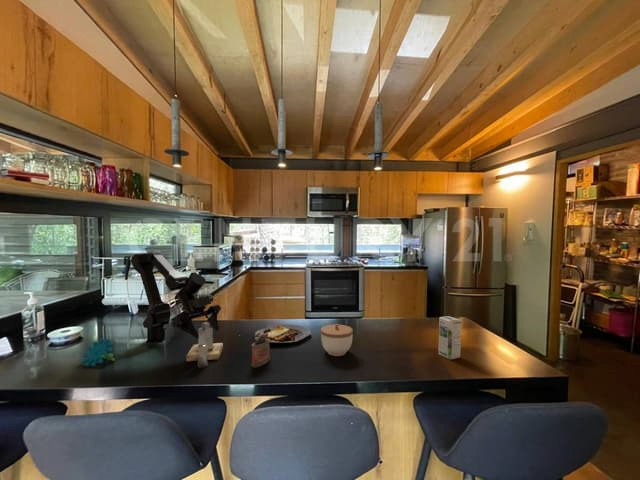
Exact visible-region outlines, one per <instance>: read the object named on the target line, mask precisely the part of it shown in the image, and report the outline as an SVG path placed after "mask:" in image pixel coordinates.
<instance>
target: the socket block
mask: <svg viewBox="0 0 640 480" xmlns="http://www.w3.org/2000/svg"><path fill="white" fill-rule="evenodd" d="M198 345H199V343H196V344H192V347H191V348H190V350H189V351H188V353H187V354H186V356H185V357H186V362H192V361H193V362H194V361H197V362H198ZM223 349H224V343H223V342H216V343H215V342H213V350H212V351H209V352H208V360H207V361H209V360H219V358H220V356H221V354H222V351H223Z"/></svg>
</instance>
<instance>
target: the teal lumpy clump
mask: <svg viewBox="0 0 640 480" xmlns="http://www.w3.org/2000/svg"><path fill="white" fill-rule="evenodd" d="M113 345H114V343H113V341H111V340H110V339H109V338H106V339H104V338H100V339H99V340H98V341H94V342H92V346H88V347H86V349H85V351H87V352H89V353H86V352H84V353H83V354H82V356H81V357H83V359H82V361H81V363H83V364H84V365H85V366H86V367H89V366H91V367H96V366H97V364H102V363H103V362H104V359H105V360H108V361H112V362H115V361H116V359H115V358H114V354H113V353H111V352H112V351H113V349H114V347H112V346H113ZM107 351H109V353H107Z"/></svg>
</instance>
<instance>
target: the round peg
mask: <svg viewBox="0 0 640 480" xmlns="http://www.w3.org/2000/svg"><path fill="white" fill-rule="evenodd" d="M208 361H209V360H208V345H207V344H200V345H198V360H197V367H198V368H206V367H207V366H208Z"/></svg>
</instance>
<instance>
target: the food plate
mask: <svg viewBox="0 0 640 480" xmlns="http://www.w3.org/2000/svg"><path fill="white" fill-rule="evenodd" d="M287 332H288V333H287ZM265 333H268V337H266V338H265V339H270V342H269V344H270V343H271V344H292V343H296V342H301V341H302V340H304V339H305V338H307V337H309V336H310V335H311V336H312V332H311V331H310V329H308V327H304V326H301V325H296V324H284V323H283V324H275V325H268V326H267V325H266V326H264V327H262V328H260V329H258V330H257V331H255V332H254V338H256V337H257V336H258V335H262V334H265ZM299 335H300V336H299Z"/></svg>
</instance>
